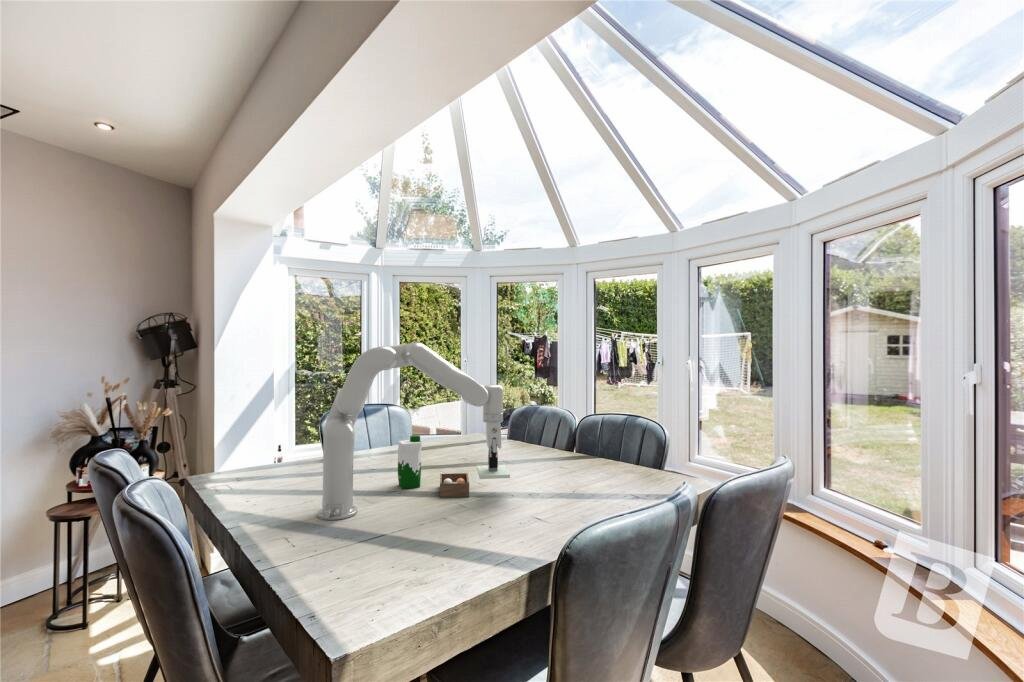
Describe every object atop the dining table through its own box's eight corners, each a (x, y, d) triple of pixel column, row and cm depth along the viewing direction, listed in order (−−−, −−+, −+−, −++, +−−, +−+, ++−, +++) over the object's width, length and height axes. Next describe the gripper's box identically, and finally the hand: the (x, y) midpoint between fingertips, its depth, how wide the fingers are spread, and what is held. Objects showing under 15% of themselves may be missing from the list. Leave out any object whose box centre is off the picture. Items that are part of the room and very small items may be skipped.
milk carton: (422, 487, 188) (423, 437, 189) (400, 490, 185) (400, 439, 185) (417, 482, 196) (418, 434, 197) (395, 484, 192) (396, 435, 193)
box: (469, 496, 177) (469, 483, 177) (439, 497, 176) (439, 484, 176) (467, 485, 192) (467, 473, 192) (440, 486, 191) (440, 473, 191)
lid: (510, 478, 171) (510, 455, 171) (479, 479, 169) (479, 456, 169) (505, 467, 185) (505, 447, 186) (477, 468, 184) (477, 447, 184)
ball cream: (452, 488, 185) (452, 479, 185) (443, 489, 185) (443, 479, 185) (452, 486, 189) (452, 477, 189) (443, 486, 188) (443, 477, 188)
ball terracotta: (465, 488, 186) (465, 479, 186) (455, 488, 185) (456, 479, 185) (464, 485, 189) (464, 476, 189) (455, 486, 189) (455, 477, 189)
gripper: (505, 420, 170) (505, 471, 170) (500, 414, 186) (500, 461, 186) (484, 421, 169) (484, 472, 169) (481, 414, 185) (481, 461, 185)
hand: (492, 466), depth 177 cm, fingers closed on lid, 3 cm apart
